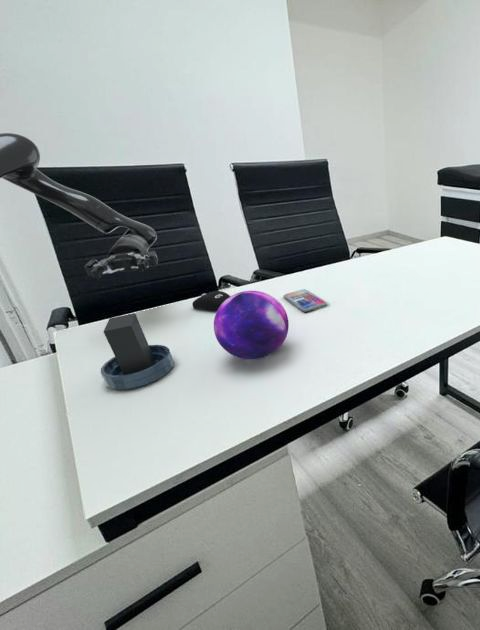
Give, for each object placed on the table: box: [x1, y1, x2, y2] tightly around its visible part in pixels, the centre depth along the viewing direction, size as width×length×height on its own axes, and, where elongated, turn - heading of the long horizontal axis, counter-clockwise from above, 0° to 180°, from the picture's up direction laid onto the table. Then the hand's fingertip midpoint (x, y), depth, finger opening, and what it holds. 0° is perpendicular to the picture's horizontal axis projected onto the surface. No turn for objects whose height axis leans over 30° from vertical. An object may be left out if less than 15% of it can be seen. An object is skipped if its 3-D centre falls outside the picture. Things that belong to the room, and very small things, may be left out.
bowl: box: [100, 344, 175, 390], centre depth 82 cm, size 12×12×4 cm
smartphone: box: [283, 288, 328, 313], centre depth 113 cm, size 7×1×15 cm
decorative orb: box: [213, 290, 290, 360], centre depth 84 cm, size 15×15×15 cm
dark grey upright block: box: [102, 312, 155, 375], centre depth 80 cm, size 4×6×12 cm
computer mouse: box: [191, 290, 232, 312], centre depth 112 cm, size 8×12×4 cm, turn 70°
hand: (118, 271), depth 90 cm, fingers open, 8 cm apart
